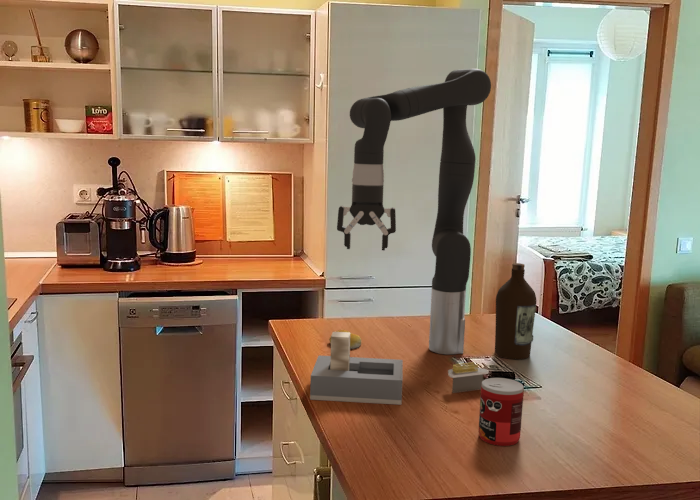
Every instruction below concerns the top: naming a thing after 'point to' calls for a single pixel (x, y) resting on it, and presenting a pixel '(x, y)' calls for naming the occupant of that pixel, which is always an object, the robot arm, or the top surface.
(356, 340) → the bread roll
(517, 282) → the olive oil
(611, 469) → the top surface
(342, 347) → the maple peg
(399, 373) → the keyhole plate
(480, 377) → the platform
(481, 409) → the canned food
